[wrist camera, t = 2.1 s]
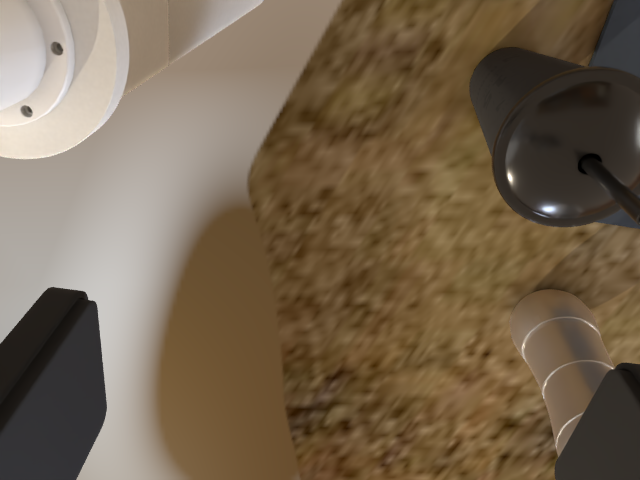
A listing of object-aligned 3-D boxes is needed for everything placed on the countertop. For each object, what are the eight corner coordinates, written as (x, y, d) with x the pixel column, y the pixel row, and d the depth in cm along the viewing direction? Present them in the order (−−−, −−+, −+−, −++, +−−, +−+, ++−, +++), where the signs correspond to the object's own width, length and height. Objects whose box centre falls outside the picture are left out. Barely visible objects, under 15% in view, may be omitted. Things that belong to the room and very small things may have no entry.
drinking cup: (583, 37, 34) (822, 137, 17) (537, 147, 38) (691, 322, 20) (469, 12, 34) (591, 89, 16) (434, 125, 37) (502, 285, 20)
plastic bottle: (549, 350, 47) (661, 589, 30) (487, 319, 46) (566, 551, 28) (600, 300, 44) (758, 534, 27) (535, 266, 43) (657, 488, 25)
